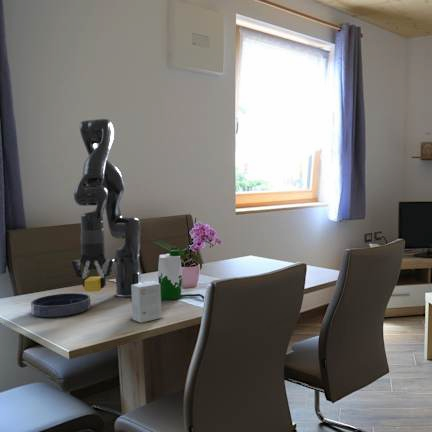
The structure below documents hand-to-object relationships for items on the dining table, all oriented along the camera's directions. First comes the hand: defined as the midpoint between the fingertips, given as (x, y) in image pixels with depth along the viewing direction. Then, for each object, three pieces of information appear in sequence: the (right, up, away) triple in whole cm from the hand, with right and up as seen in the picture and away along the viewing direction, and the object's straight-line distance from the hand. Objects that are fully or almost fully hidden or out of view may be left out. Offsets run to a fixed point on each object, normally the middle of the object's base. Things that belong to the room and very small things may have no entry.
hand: (94, 287), depth 198 cm
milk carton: (+15, -8, +32) cm, 36 cm away
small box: (+18, -12, +2) cm, 22 cm away
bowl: (-17, -10, +9) cm, 22 cm away
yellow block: (0, -1, 0) cm, 1 cm away
